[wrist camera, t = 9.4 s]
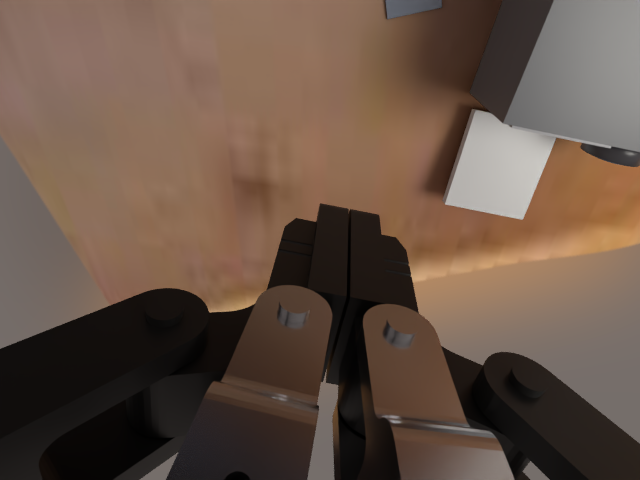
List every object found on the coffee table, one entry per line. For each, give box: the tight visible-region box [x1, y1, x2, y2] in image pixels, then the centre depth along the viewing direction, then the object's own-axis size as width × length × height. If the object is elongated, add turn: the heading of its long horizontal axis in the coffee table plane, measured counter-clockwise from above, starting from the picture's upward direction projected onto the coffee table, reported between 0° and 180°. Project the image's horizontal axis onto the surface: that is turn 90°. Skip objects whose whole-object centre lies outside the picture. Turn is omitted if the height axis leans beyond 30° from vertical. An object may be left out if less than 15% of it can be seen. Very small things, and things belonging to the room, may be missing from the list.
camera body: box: [470, 0, 640, 167], centre depth 28 cm, size 12×12×10 cm
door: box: [442, 109, 556, 220], centre depth 36 cm, size 1×7×8 cm
